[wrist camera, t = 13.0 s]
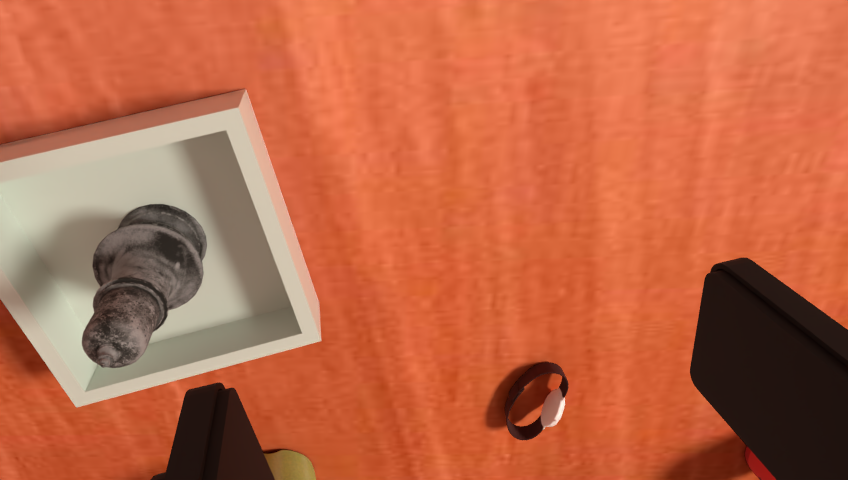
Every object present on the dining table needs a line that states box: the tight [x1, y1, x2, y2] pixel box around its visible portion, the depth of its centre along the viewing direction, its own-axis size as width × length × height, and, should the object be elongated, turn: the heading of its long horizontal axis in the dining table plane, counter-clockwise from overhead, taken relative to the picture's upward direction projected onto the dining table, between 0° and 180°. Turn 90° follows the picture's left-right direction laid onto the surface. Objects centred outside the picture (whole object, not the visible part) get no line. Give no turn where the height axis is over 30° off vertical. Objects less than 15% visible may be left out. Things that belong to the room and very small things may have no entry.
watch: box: [505, 362, 568, 440], centre depth 47 cm, size 8×5×4 cm, turn 156°
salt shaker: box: [82, 204, 207, 368], centre depth 29 cm, size 6×6×12 cm
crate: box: [0, 89, 321, 407], centre depth 34 cm, size 16×16×4 cm
